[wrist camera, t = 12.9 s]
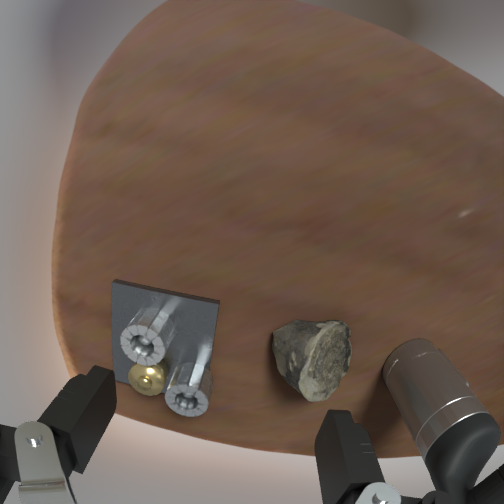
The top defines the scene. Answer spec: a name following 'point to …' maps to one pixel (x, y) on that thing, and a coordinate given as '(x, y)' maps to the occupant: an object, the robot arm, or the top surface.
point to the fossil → (313, 356)
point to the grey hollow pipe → (190, 389)
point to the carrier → (184, 340)
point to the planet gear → (148, 336)
